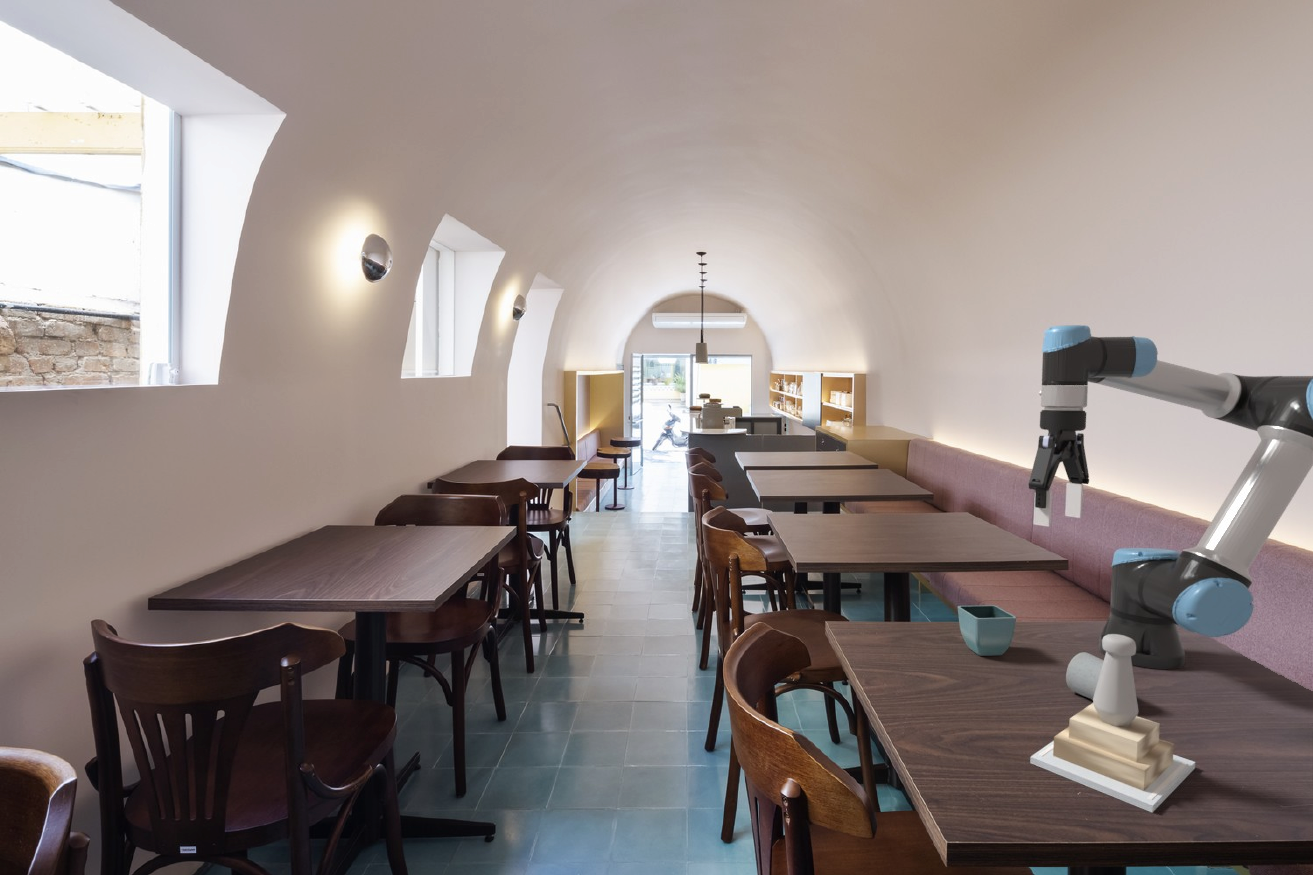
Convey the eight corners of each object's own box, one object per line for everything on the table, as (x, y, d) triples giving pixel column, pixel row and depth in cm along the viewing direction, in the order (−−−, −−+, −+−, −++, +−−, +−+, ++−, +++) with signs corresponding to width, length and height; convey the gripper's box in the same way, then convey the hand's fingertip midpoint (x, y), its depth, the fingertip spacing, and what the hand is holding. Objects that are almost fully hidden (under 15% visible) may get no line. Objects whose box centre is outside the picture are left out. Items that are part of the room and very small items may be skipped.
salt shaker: (1098, 726, 106) (1102, 641, 105) (1087, 709, 111) (1091, 628, 110) (1143, 732, 104) (1148, 645, 103) (1130, 714, 109) (1134, 632, 108)
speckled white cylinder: (1107, 712, 125) (1109, 670, 125) (1063, 694, 133) (1066, 654, 132) (1144, 702, 130) (1147, 661, 129) (1100, 685, 137) (1103, 646, 137)
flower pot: (955, 644, 158) (956, 605, 157) (993, 644, 158) (995, 604, 158) (975, 660, 149) (976, 618, 148) (1015, 659, 150) (1017, 617, 149)
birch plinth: (1085, 732, 116) (1087, 696, 116) (1172, 762, 107) (1175, 724, 106) (1053, 755, 109) (1054, 717, 108) (1143, 791, 100) (1146, 749, 99)
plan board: (1079, 727, 120) (1079, 721, 120) (1194, 768, 107) (1195, 761, 107) (1030, 762, 109) (1030, 756, 109) (1152, 812, 96) (1152, 804, 96)
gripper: (1070, 407, 144) (1065, 510, 146) (1011, 409, 129) (1006, 525, 130) (1111, 408, 138) (1106, 516, 140) (1055, 411, 123) (1049, 532, 125)
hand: (1058, 521), depth 135 cm, fingers open, 13 cm apart
